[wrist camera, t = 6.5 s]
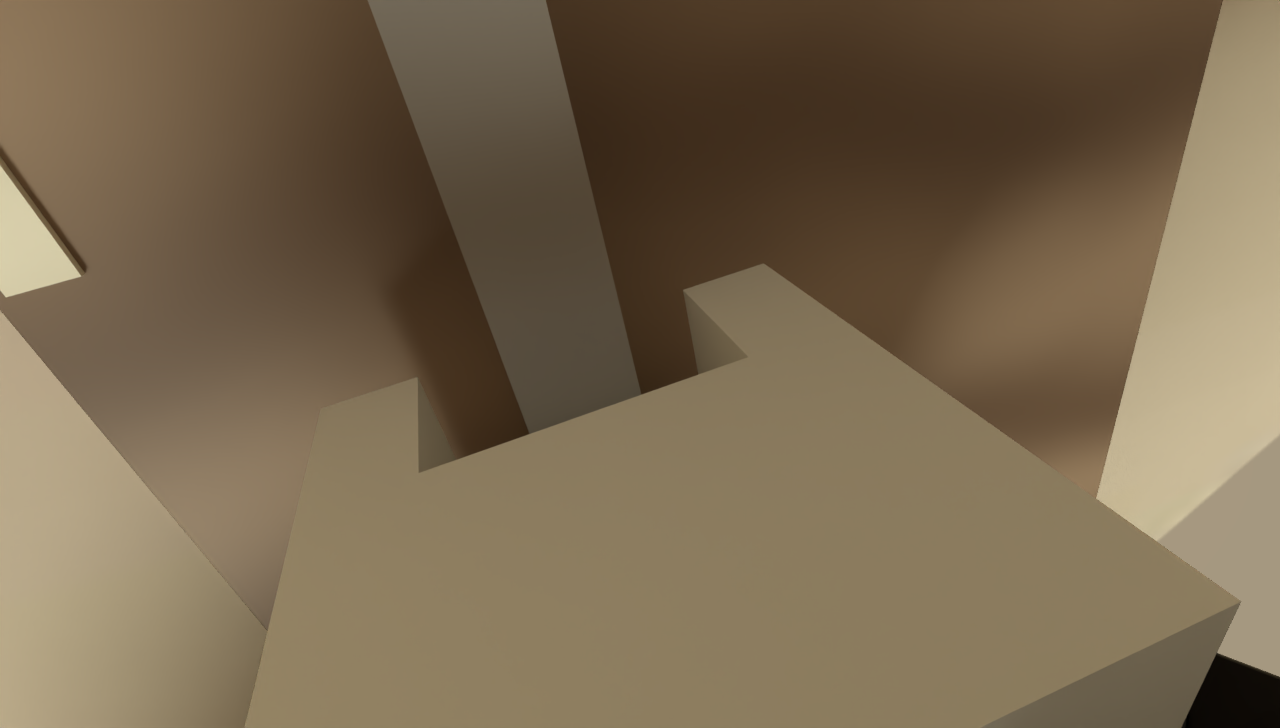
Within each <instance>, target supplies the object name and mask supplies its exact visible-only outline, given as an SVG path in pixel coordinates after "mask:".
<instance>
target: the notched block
mask: <svg viewBox="0 0 1280 728" xmlns="http://www.w3.org/2000/svg"><path fill="white" fill-rule="evenodd" d="M683 293H684V299H685V304H686V310H687V315H688V321H689V326H690V332H691V337H692V343H693V348H694V354H695V359H696V365H697V370H698V375H696V376H693V377H690V378H687V379H685V380H682V381H679V382H676V383H673V384H670V385H668V386H665V387H662V388H659V389H656V390H653V391H650V392H648V393H645V394H642V395H639V396H636V397H633V398H631V399H628V400H625V401H622V402H619V403H616V404H614V405H611V406H608V407H605V408H602V409H599V410H597V411H594V412H591V413H588V414H585V415H582V416H580V417H577V418H574V419H571V420H568V421H565V422H562V423H560V424H557V425H554V426H551V427H548V428H545V429H543V430H540V431H537V432H534V433H531V434H528V435H526V436H523V437H520V438H517V439H514V440H511V441H509V442H506V443H503V444H500V445H497V446H494V447H492V448H489V449H486V450H483V451H480V452H477V453H474V454H472V455H469V456H466V457H463V458H460V459H457V460H456V458H455V456H454V454H453V451H452V449H451V447H450V445H449V443H448V441H447V439H446V436H445V434H444V432H443V430H442V428H441V426H440V424H439V421H438V419H437V417H436V415H435V413H434V411H433V409H432V406H431V404H430V402H429V400H428V398H427V396H426V394H425V391H424V389H423V387H422V385H421V383H420V381H419V379H418V377H416V378H413V379H410V380H407V381H404V382H401V383H398V384H395V385H392V386H389V387H385V388H382V389H379V390H376V391H373V392H370V393H367V394H364V395H361V396H358V397H355V398H352V399H349V400H346V401H343V402H340V403H337V404H334V405H331V406H328V407H325V408H322V409H321V410H320V414H319V418H318V423H317V427H316V431H315V435H314V439H313V443H312V448H311V452H310V456H309V460H308V464H307V469H306V473H305V477H304V481H303V485H302V489H301V494H300V498H299V502H298V506H297V510H296V515H295V519H294V523H293V527H292V531H291V535H290V540H289V544H288V548H287V552H286V556H285V561H284V565H283V569H282V573H281V577H280V581H279V586H278V590H277V594H276V598H275V602H274V606H273V611H272V615H271V619H270V623H269V627H268V632H267V636H266V640H265V644H264V648H263V652H262V657H261V661H260V665H259V669H258V673H257V678H256V682H255V686H254V690H253V694H252V698H251V703H250V707H249V711H248V715H247V719H246V724H245V728H1181V727H1182V725H1183V723H1184V721H1185V719H1186V716H1187V714H1188V712H1189V710H1190V708H1191V706H1192V704H1193V702H1194V700H1195V698H1196V695H1197V693H1198V691H1199V689H1200V687H1201V685H1202V683H1203V681H1204V679H1205V677H1206V674H1207V672H1208V670H1209V668H1210V666H1211V664H1212V662H1213V660H1214V658H1215V656H1216V653H1217V651H1218V649H1219V647H1220V645H1221V643H1222V641H1223V639H1224V637H1225V634H1226V632H1227V630H1228V628H1229V626H1230V624H1231V622H1232V620H1233V618H1234V615H1235V613H1236V611H1237V609H1238V607H1239V605H1240V603H1241V601H1240V600H1238V599H1237V598H1236V597H1234V596H1233V595H1231V594H1230V593H1228V592H1227V591H1226V590H1224V589H1223V588H1221V587H1220V586H1219V585H1217V584H1216V583H1214V582H1213V581H1212V580H1210V579H1209V578H1207V577H1206V576H1204V575H1203V574H1202V573H1200V572H1199V571H1197V570H1196V569H1195V568H1193V567H1192V566H1190V565H1189V564H1188V563H1186V562H1184V561H1183V560H1182V559H1180V558H1179V557H1178V556H1176V555H1175V554H1173V553H1172V552H1171V551H1169V550H1168V549H1166V548H1165V547H1164V546H1162V545H1161V544H1159V543H1158V542H1156V541H1155V540H1154V539H1152V538H1151V537H1149V536H1148V535H1147V534H1145V533H1144V532H1142V531H1141V530H1140V529H1138V528H1137V527H1135V526H1134V525H1132V524H1131V523H1130V522H1128V521H1127V520H1125V519H1124V518H1123V517H1121V516H1120V515H1118V514H1117V513H1116V512H1114V511H1113V510H1111V509H1110V508H1108V507H1107V506H1106V505H1104V504H1103V503H1101V502H1100V501H1099V500H1097V499H1096V498H1094V497H1093V496H1092V495H1090V494H1089V493H1087V492H1086V491H1084V490H1083V489H1082V488H1080V487H1079V486H1077V485H1076V484H1075V483H1073V482H1072V481H1070V480H1069V479H1068V478H1066V477H1065V476H1063V475H1062V474H1060V473H1059V472H1058V471H1056V470H1055V469H1053V468H1052V467H1051V466H1049V465H1048V464H1046V463H1045V462H1044V461H1042V460H1041V459H1039V458H1038V457H1036V456H1035V455H1034V454H1032V453H1031V452H1029V451H1028V450H1027V449H1025V448H1024V447H1022V446H1021V445H1020V444H1018V443H1017V442H1015V441H1014V440H1012V439H1011V438H1010V437H1008V436H1007V435H1005V434H1004V433H1003V432H1001V431H1000V430H998V429H997V428H995V427H994V426H993V425H991V424H990V423H988V422H987V421H986V420H984V419H983V418H981V417H980V416H979V415H977V414H976V413H974V412H973V411H971V410H970V409H969V408H967V407H966V406H964V405H963V404H962V403H960V402H959V401H957V400H956V399H955V398H953V397H952V396H950V395H949V394H947V393H946V392H945V391H943V390H942V389H940V388H939V387H938V386H936V385H935V384H933V383H932V382H931V381H929V380H928V379H926V378H925V377H923V376H922V375H921V374H919V373H918V372H916V371H915V370H914V369H912V368H911V367H909V366H908V365H907V364H905V363H904V362H902V361H901V360H899V359H898V358H897V357H895V356H894V355H892V354H891V353H890V352H888V351H887V350H885V349H884V348H883V347H881V346H880V345H878V344H877V343H875V342H874V341H873V340H871V339H870V338H868V337H867V336H866V335H864V334H863V333H861V332H860V331H859V330H857V329H856V328H854V327H853V326H851V325H850V324H849V323H847V322H846V321H844V320H843V319H842V318H840V317H839V316H837V315H836V314H835V313H833V312H832V311H830V310H829V309H827V308H826V307H825V306H823V305H822V304H820V303H819V302H818V301H816V300H815V299H813V298H812V297H811V296H809V295H808V294H806V293H805V292H803V291H802V290H801V289H799V288H798V287H796V286H795V285H794V284H792V283H791V282H789V281H788V280H786V279H785V278H784V277H782V276H781V275H779V274H778V273H777V272H775V271H774V270H772V269H771V268H770V267H768V266H767V265H765V264H764V263H763V264H760V265H757V266H754V267H751V268H748V269H745V270H742V271H739V272H736V273H733V274H730V275H727V276H724V277H721V278H718V279H715V280H711V281H708V282H705V283H702V284H699V285H696V286H693V287H690V288H687V289H684V290H683Z"/></svg>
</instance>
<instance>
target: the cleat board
mask: <svg viewBox="0 0 1280 728" xmlns="http://www.w3.org/2000/svg"><path fill="white" fill-rule="evenodd" d="M1222 1H1223V0H0V310H1V311H2V313H3V314H4V315H5V316H6V317H7V319H8V320H9V321H10V322H11V324H12V325H13V326H14V327H15V328H16V330H17V331H18V332H19V333H20V334H21V336H22V337H23V338H24V339H25V340H26V342H27V343H28V344H29V345H30V346H31V348H32V349H33V350H34V351H35V352H36V354H37V355H38V356H39V357H40V358H41V360H42V361H43V362H44V363H45V364H46V366H47V367H48V368H49V369H50V370H51V372H52V373H53V374H54V375H55V376H56V378H57V379H58V380H59V381H60V382H61V384H62V385H63V386H64V387H65V388H66V390H67V391H68V392H69V393H70V394H71V396H72V397H73V398H74V399H75V400H76V402H77V403H78V404H79V405H80V406H81V408H82V409H83V410H84V411H85V412H86V414H87V415H88V416H89V417H90V418H91V420H92V421H93V422H94V423H95V424H96V426H97V427H98V428H99V429H100V430H101V432H102V433H103V434H104V435H105V436H106V438H107V439H108V440H109V441H110V442H111V444H112V445H113V446H114V447H115V448H116V450H117V451H118V452H119V453H120V454H121V456H122V457H123V458H124V459H125V460H126V462H127V463H128V464H129V465H130V466H131V468H132V469H133V470H134V471H135V472H136V474H137V475H138V476H139V477H140V478H141V480H142V481H143V482H144V483H145V484H146V486H147V487H148V488H149V489H150V490H151V492H152V493H153V494H154V495H155V496H156V498H157V499H158V500H159V501H160V502H161V504H162V505H163V506H164V507H165V509H166V510H167V511H168V512H169V513H170V515H171V516H172V517H173V518H174V519H175V521H176V522H177V523H178V524H179V525H180V527H181V528H182V529H183V530H184V531H185V533H186V534H187V535H188V536H189V537H190V539H191V540H192V541H193V542H194V543H195V545H196V546H197V547H198V548H199V549H200V551H201V552H202V553H203V554H204V555H205V557H206V558H207V559H208V560H209V561H210V563H211V564H212V565H213V566H214V567H215V569H216V570H217V571H218V572H219V573H220V575H221V576H222V577H223V578H224V579H225V581H226V582H227V583H228V584H229V585H230V587H231V588H232V589H233V590H234V591H235V593H236V594H237V595H238V596H239V597H240V599H241V600H242V601H243V602H244V603H245V605H246V606H247V607H248V608H249V609H250V611H251V612H252V613H253V614H254V615H255V617H256V618H257V619H258V620H259V621H260V623H261V624H262V625H263V626H264V627H265V629H266V630H267V631H268V627H269V623H270V619H271V615H272V611H273V606H274V602H275V598H276V594H277V590H278V586H279V581H280V577H281V573H282V569H283V565H284V561H285V556H286V552H287V548H288V544H289V540H290V535H291V531H292V527H293V523H294V519H295V515H296V510H297V506H298V502H299V498H300V494H301V489H302V485H303V481H304V477H305V473H306V469H307V464H308V460H309V456H310V452H311V448H312V443H313V439H314V435H315V431H316V427H317V423H318V418H319V414H320V410H321V409H322V408H325V407H328V406H331V405H334V404H337V403H340V402H343V401H346V400H349V399H352V398H355V397H358V396H361V395H364V394H367V393H370V392H373V391H376V390H379V389H382V388H385V387H389V386H392V385H395V384H398V383H401V382H404V381H407V380H410V379H413V378H416V377H418V379H419V381H420V383H421V385H422V387H423V389H424V391H425V394H426V396H427V398H428V400H429V402H430V404H431V406H432V409H433V411H434V413H435V415H436V417H437V419H438V421H439V424H440V426H441V428H442V430H443V432H444V434H445V436H446V439H447V441H448V443H449V445H450V447H451V449H452V451H453V454H454V456H455V458H456V460H457V459H460V458H463V457H466V456H469V455H472V454H474V453H477V452H480V451H483V450H486V449H489V448H492V447H494V446H497V445H500V444H503V443H506V442H509V441H511V440H514V439H517V438H520V437H523V436H526V435H528V434H531V433H534V432H537V431H540V430H543V429H545V428H548V427H551V426H554V425H557V424H560V423H562V422H565V421H568V420H571V419H574V418H577V417H580V416H582V415H585V414H588V413H591V412H594V411H597V410H599V409H602V408H605V407H608V406H611V405H614V404H616V403H619V402H622V401H625V400H628V399H631V398H633V397H636V396H639V395H642V394H645V393H648V392H650V391H653V390H656V389H659V388H662V387H665V386H668V385H670V384H673V383H676V382H679V381H682V380H685V379H687V378H690V377H693V376H696V375H698V370H697V365H696V359H695V354H694V348H693V343H692V337H691V332H690V326H689V321H688V315H687V310H686V304H685V299H684V293H683V290H684V289H687V288H690V287H693V286H696V285H699V284H702V283H705V282H708V281H711V280H715V279H718V278H721V277H724V276H727V275H730V274H733V273H736V272H739V271H742V270H745V269H748V268H751V267H754V266H757V265H760V264H763V263H764V264H765V265H767V266H768V267H770V268H771V269H772V270H774V271H775V272H777V273H778V274H779V275H781V276H782V277H784V278H785V279H786V280H788V281H789V282H791V283H792V284H794V285H795V286H796V287H798V288H799V289H801V290H802V291H803V292H805V293H806V294H808V295H809V296H811V297H812V298H813V299H815V300H816V301H818V302H819V303H820V304H822V305H823V306H825V307H826V308H827V309H829V310H830V311H832V312H833V313H835V314H836V315H837V316H839V317H840V318H842V319H843V320H844V321H846V322H847V323H849V324H850V325H851V326H853V327H854V328H856V329H857V330H859V331H860V332H861V333H863V334H864V335H866V336H867V337H868V338H870V339H871V340H873V341H874V342H875V343H877V344H878V345H880V346H881V347H883V348H884V349H885V350H887V351H888V352H890V353H891V354H892V355H894V356H895V357H897V358H898V359H899V360H901V361H902V362H904V363H905V364H907V365H908V366H909V367H911V368H912V369H914V370H915V371H916V372H918V373H919V374H921V375H922V376H923V377H925V378H926V379H928V380H929V381H931V382H932V383H933V384H935V385H936V386H938V387H939V388H940V389H942V390H943V391H945V392H946V393H947V394H949V395H950V396H952V397H953V398H955V399H956V400H957V401H959V402H960V403H962V404H963V405H964V406H966V407H967V408H969V409H970V410H971V411H973V412H974V413H976V414H977V415H979V416H980V417H981V418H983V419H984V420H986V421H987V422H988V423H990V424H991V425H993V426H994V427H995V428H997V429H998V430H1000V431H1001V432H1003V433H1004V434H1005V435H1007V436H1008V437H1010V438H1011V439H1012V440H1014V441H1015V442H1017V443H1018V444H1020V445H1021V446H1022V447H1024V448H1025V449H1027V450H1028V451H1029V452H1031V453H1032V454H1034V455H1035V456H1036V457H1038V458H1039V459H1041V460H1042V461H1044V462H1045V463H1046V464H1048V465H1049V466H1051V467H1052V468H1053V469H1055V470H1056V471H1058V472H1059V473H1060V474H1062V475H1063V476H1065V477H1066V478H1068V479H1069V480H1070V481H1072V482H1073V483H1075V484H1076V485H1077V486H1079V487H1080V488H1082V489H1083V490H1084V491H1086V492H1087V493H1089V494H1090V495H1092V496H1093V497H1094V498H1096V496H1097V492H1098V488H1099V485H1100V481H1101V477H1102V473H1103V469H1104V465H1105V461H1106V457H1107V453H1108V449H1109V445H1110V441H1111V437H1112V433H1113V429H1114V426H1115V422H1116V418H1117V414H1118V410H1119V406H1120V402H1121V398H1122V394H1123V390H1124V386H1125V382H1126V378H1127V374H1128V370H1129V367H1130V363H1131V359H1132V355H1133V351H1134V347H1135V343H1136V339H1137V335H1138V331H1139V327H1140V323H1141V319H1142V315H1143V311H1144V308H1145V304H1146V300H1147V296H1148V292H1149V288H1150V284H1151V280H1152V276H1153V272H1154V268H1155V264H1156V260H1157V256H1158V253H1159V249H1160V245H1161V241H1162V237H1163V233H1164V229H1165V225H1166V221H1167V217H1168V213H1169V209H1170V205H1171V201H1172V197H1173V194H1174V190H1175V186H1176V182H1177V178H1178V174H1179V170H1180V166H1181V162H1182V158H1183V154H1184V150H1185V146H1186V142H1187V138H1188V135H1189V131H1190V127H1191V123H1192V119H1193V115H1194V111H1195V107H1196V103H1197V99H1198V95H1199V91H1200V87H1201V83H1202V79H1203V76H1204V72H1205V68H1206V64H1207V60H1208V56H1209V52H1210V48H1211V44H1212V40H1213V36H1214V32H1215V28H1216V24H1217V21H1218V17H1219V13H1220V9H1221V5H1222Z"/></svg>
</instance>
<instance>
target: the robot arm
mask: <svg viewBox="0 0 1280 728" xmlns="http://www.w3.org/2000/svg"><path fill="white" fill-rule="evenodd" d="M1181 728H1280V677H1279V676H1276V675H1273V674H1271V673H1268V672H1266V671H1263V670H1260V669H1258V668H1255V667H1252V666H1250V665H1247V664H1245V663H1242V662H1239V661H1237V660H1234V659H1232V658H1229V657H1226V656H1224V655H1221V654H1218V653H1216V656H1215V658H1214V660H1213V662H1212V664H1211V666H1210V668H1209V670H1208V672H1207V674H1206V677H1205V679H1204V681H1203V683H1202V685H1201V687H1200V689H1199V691H1198V693H1197V695H1196V698H1195V700H1194V702H1193V704H1192V706H1191V708H1190V710H1189V712H1188V714H1187V716H1186V719H1185V721H1184V723H1183V725H1182V727H1181Z"/></svg>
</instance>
